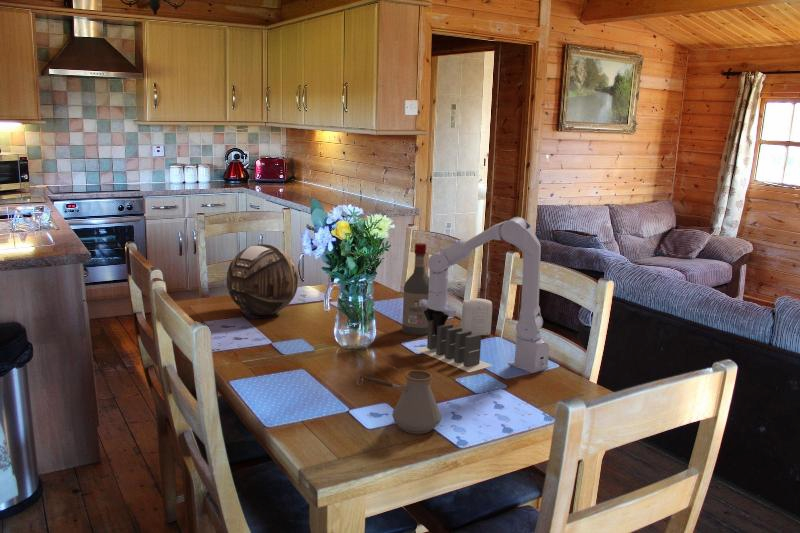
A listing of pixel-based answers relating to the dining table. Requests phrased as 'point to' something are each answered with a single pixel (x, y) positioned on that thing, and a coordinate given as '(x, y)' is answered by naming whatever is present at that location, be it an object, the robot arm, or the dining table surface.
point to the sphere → (262, 279)
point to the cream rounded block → (477, 316)
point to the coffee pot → (413, 402)
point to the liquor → (416, 296)
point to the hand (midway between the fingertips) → (435, 333)
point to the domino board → (451, 361)
